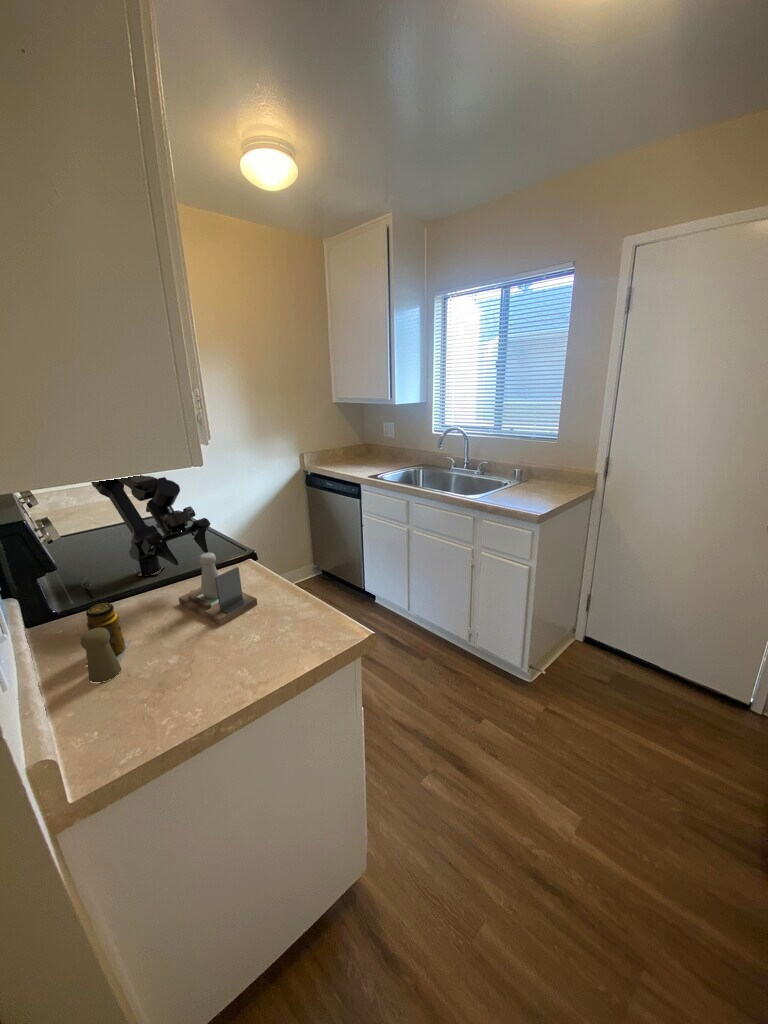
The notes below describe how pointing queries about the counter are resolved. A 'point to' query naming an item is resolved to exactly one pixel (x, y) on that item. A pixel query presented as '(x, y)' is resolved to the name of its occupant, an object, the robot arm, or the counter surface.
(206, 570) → the salt shaker
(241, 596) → the bookend
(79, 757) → the counter surface
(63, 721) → the counter surface
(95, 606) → the condiment
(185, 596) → the wooden card stand
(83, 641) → the cork
